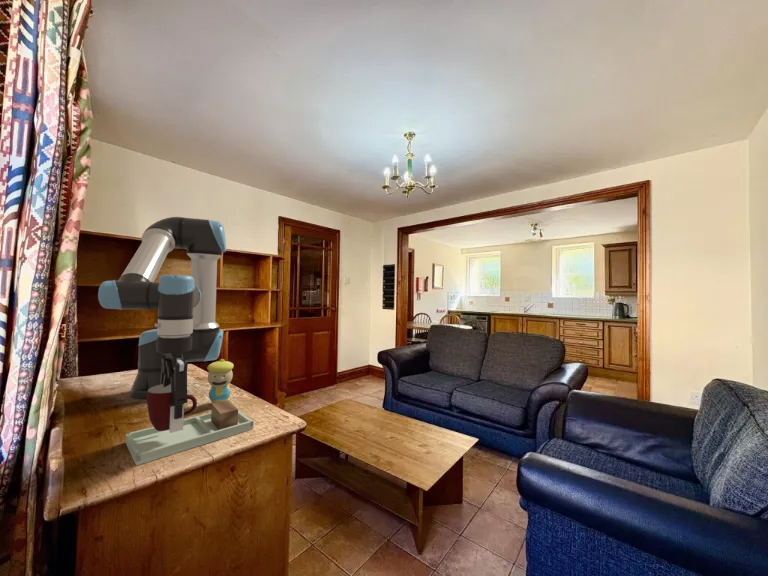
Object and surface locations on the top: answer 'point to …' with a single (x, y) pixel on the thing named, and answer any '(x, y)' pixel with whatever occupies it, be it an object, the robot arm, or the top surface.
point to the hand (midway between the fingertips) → (171, 425)
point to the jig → (180, 437)
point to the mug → (162, 406)
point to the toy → (220, 380)
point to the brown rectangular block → (224, 414)
